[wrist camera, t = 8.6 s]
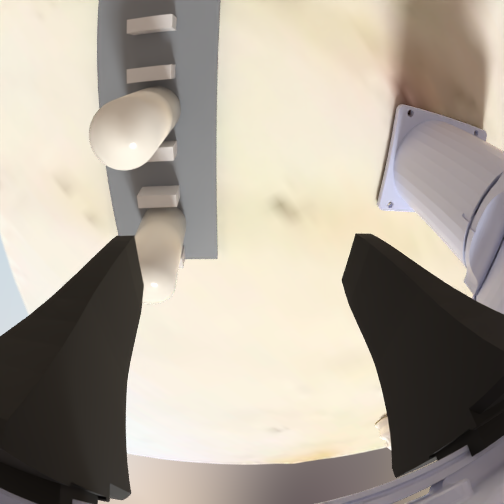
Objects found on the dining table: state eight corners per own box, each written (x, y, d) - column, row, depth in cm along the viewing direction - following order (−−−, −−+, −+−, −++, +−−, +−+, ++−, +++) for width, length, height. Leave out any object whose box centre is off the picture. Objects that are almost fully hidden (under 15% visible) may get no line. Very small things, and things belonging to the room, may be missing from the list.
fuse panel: (223, -49, 10) (223, -62, 8) (217, 252, 22) (217, 271, 20) (107, -34, 9) (94, -44, 7) (126, 253, 21) (119, 271, 20)
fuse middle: (180, 84, 14) (157, 94, 9) (181, 133, 16) (161, 168, 11) (129, 89, 14) (85, 104, 9) (132, 137, 16) (94, 173, 11)
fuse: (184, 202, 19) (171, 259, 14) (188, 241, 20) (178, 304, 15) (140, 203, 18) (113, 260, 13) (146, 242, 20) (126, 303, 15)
